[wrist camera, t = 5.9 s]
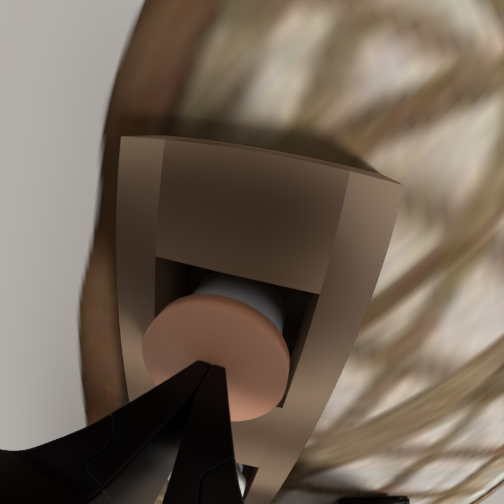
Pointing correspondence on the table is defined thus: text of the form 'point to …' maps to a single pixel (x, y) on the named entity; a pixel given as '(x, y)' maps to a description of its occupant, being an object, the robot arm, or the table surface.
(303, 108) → the table surface
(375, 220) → the walnut panel
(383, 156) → the table surface
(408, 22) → the table surface
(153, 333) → the terracotta plunger
